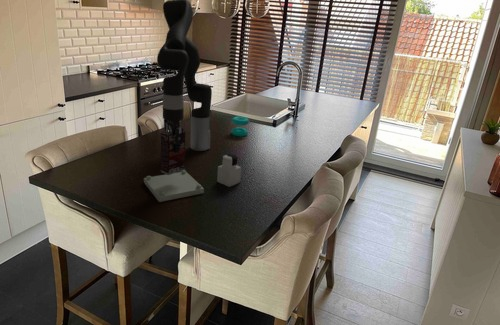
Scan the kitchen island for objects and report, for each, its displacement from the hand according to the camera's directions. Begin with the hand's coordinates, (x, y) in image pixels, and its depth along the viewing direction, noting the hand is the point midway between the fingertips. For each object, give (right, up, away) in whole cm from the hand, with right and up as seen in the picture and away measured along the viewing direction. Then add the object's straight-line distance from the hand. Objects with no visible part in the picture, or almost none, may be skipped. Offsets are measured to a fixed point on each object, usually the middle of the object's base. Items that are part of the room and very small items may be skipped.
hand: (173, 149), depth 139 cm
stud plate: (-1, -15, +6) cm, 16 cm away
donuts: (+23, +11, +77) cm, 82 cm away
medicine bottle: (+20, -14, +15) cm, 29 cm away
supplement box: (-1, -9, +3) cm, 9 cm away
